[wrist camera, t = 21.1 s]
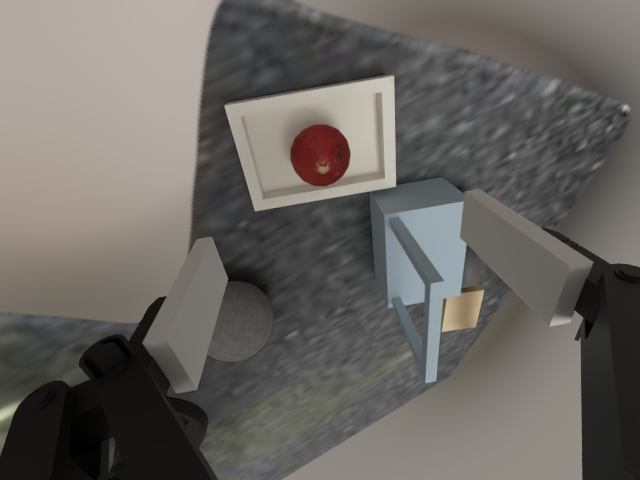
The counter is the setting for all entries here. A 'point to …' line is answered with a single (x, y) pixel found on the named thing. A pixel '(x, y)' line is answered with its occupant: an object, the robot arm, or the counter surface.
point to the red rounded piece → (320, 155)
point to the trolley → (421, 257)
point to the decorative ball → (241, 323)
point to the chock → (462, 309)
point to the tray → (302, 112)
